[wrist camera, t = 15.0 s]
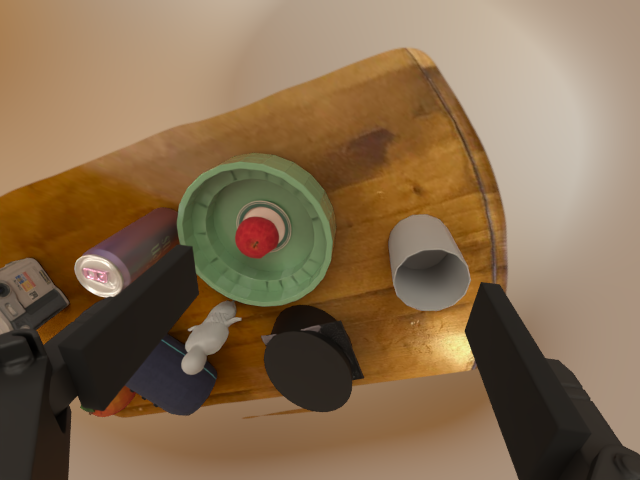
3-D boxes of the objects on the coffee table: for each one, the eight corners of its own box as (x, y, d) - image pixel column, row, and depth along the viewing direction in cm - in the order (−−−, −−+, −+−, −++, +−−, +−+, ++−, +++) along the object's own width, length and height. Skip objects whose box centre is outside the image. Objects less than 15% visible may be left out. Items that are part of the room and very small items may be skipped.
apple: (298, 209, 45) (287, 229, 39) (284, 257, 49) (273, 281, 43) (243, 192, 45) (224, 208, 39) (233, 240, 49) (215, 262, 43)
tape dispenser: (296, 380, 63) (289, 418, 56) (258, 311, 55) (245, 346, 48) (369, 369, 60) (372, 407, 53) (340, 293, 52) (339, 327, 45)
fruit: (103, 380, 69) (65, 425, 60) (99, 348, 65) (57, 391, 56) (147, 392, 69) (114, 438, 60) (145, 361, 65) (110, 406, 56)
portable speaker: (93, 314, 61) (46, 354, 52) (113, 282, 57) (65, 320, 48) (205, 386, 66) (179, 434, 57) (230, 361, 61) (207, 409, 53)
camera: (74, 306, 61) (24, 346, 52) (50, 310, 62) (-3, 349, 53) (38, 253, 56) (-24, 286, 47) (13, 258, 57) (-52, 291, 48)
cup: (404, 276, 48) (412, 320, 40) (377, 232, 46) (380, 268, 37) (460, 252, 46) (482, 294, 37) (435, 203, 43) (452, 236, 34)
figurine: (213, 315, 57) (165, 387, 44) (202, 297, 55) (150, 366, 42) (261, 304, 54) (226, 377, 41) (251, 285, 53) (212, 354, 40)
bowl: (343, 160, 42) (339, 172, 37) (330, 291, 51) (325, 315, 46) (191, 145, 44) (166, 154, 39) (204, 274, 53) (186, 295, 48)
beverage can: (151, 201, 49) (68, 248, 35) (189, 211, 48) (121, 261, 35) (152, 236, 51) (76, 291, 38) (188, 245, 51) (125, 304, 38)
